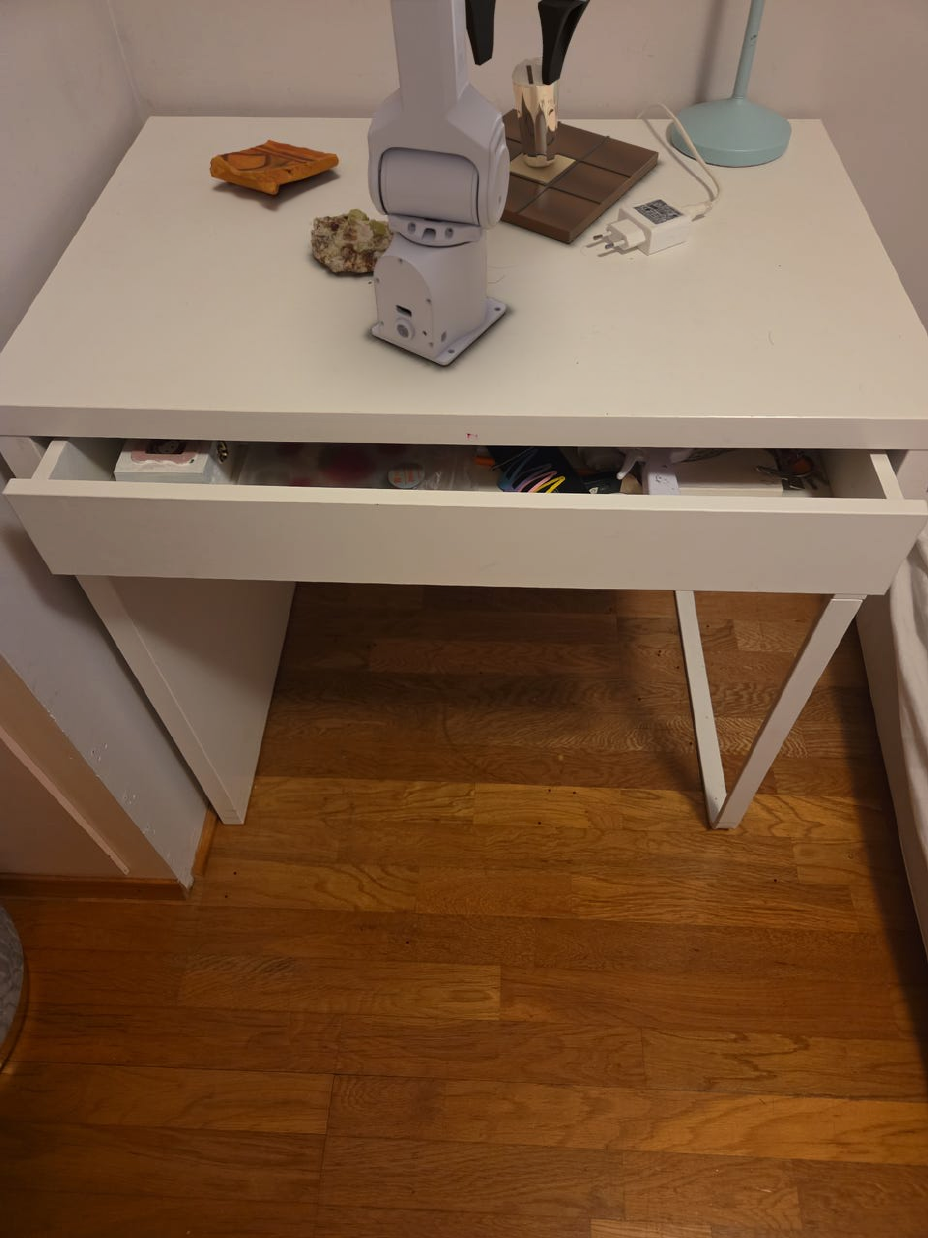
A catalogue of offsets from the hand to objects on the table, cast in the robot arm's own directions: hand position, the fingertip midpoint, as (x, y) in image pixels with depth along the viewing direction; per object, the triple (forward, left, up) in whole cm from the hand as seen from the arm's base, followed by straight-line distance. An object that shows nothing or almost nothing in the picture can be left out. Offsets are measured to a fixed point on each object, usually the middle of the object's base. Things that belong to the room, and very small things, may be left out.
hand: (516, 70), depth 83 cm
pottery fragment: (-14, +20, -10) cm, 26 cm away
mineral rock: (-20, +4, -10) cm, 23 cm away
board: (+1, -2, -10) cm, 10 cm away
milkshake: (+1, -2, -9) cm, 9 cm away
